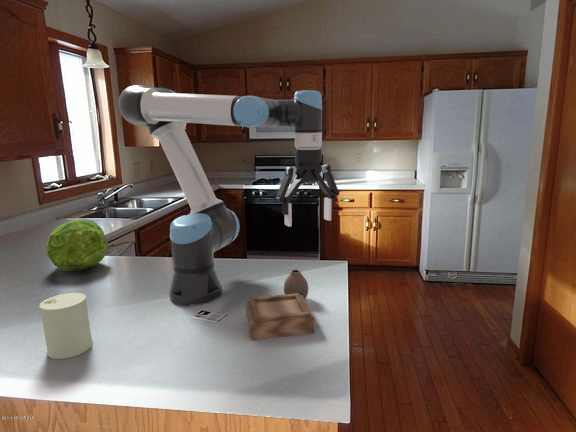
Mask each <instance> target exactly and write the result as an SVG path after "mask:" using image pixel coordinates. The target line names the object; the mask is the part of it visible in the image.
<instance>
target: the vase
mask: <svg viewBox="0 0 576 432" xmlns="http://www.w3.org/2000/svg"><path fill="white" fill-rule="evenodd" d="M283 284H284V285H283V293H284V294H283V295H286V294H296V293H299V295H303V297H304V299H305V300H306V299H307V297H308V295H309V283H308V281H307V279H306V278H305V276H304V275H303V274H302V272H301V271H300V269H293V270H291V272H290V274H289V275H288V276H287V278H286V279H285V280H284V283H283Z"/></svg>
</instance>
